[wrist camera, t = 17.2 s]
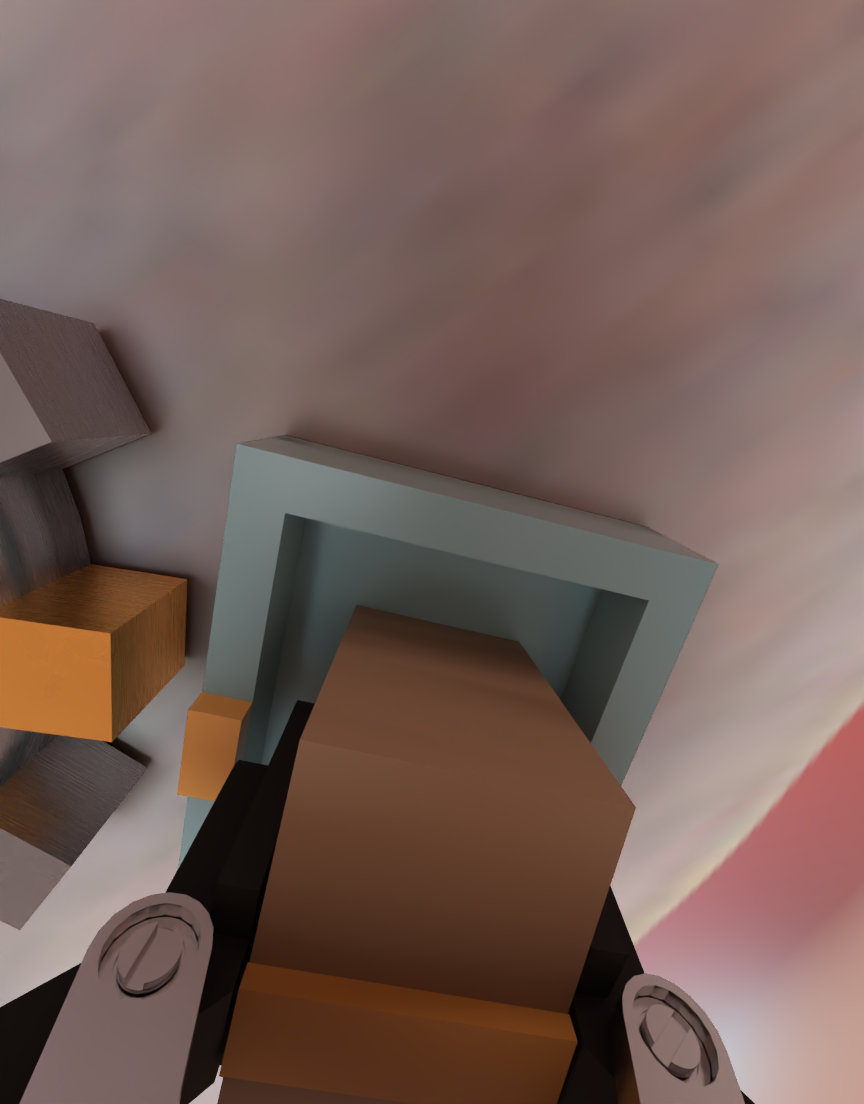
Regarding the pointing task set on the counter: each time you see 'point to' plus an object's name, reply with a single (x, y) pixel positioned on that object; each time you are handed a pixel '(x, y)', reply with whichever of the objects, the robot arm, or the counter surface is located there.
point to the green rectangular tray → (424, 597)
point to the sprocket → (66, 608)
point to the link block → (427, 882)
